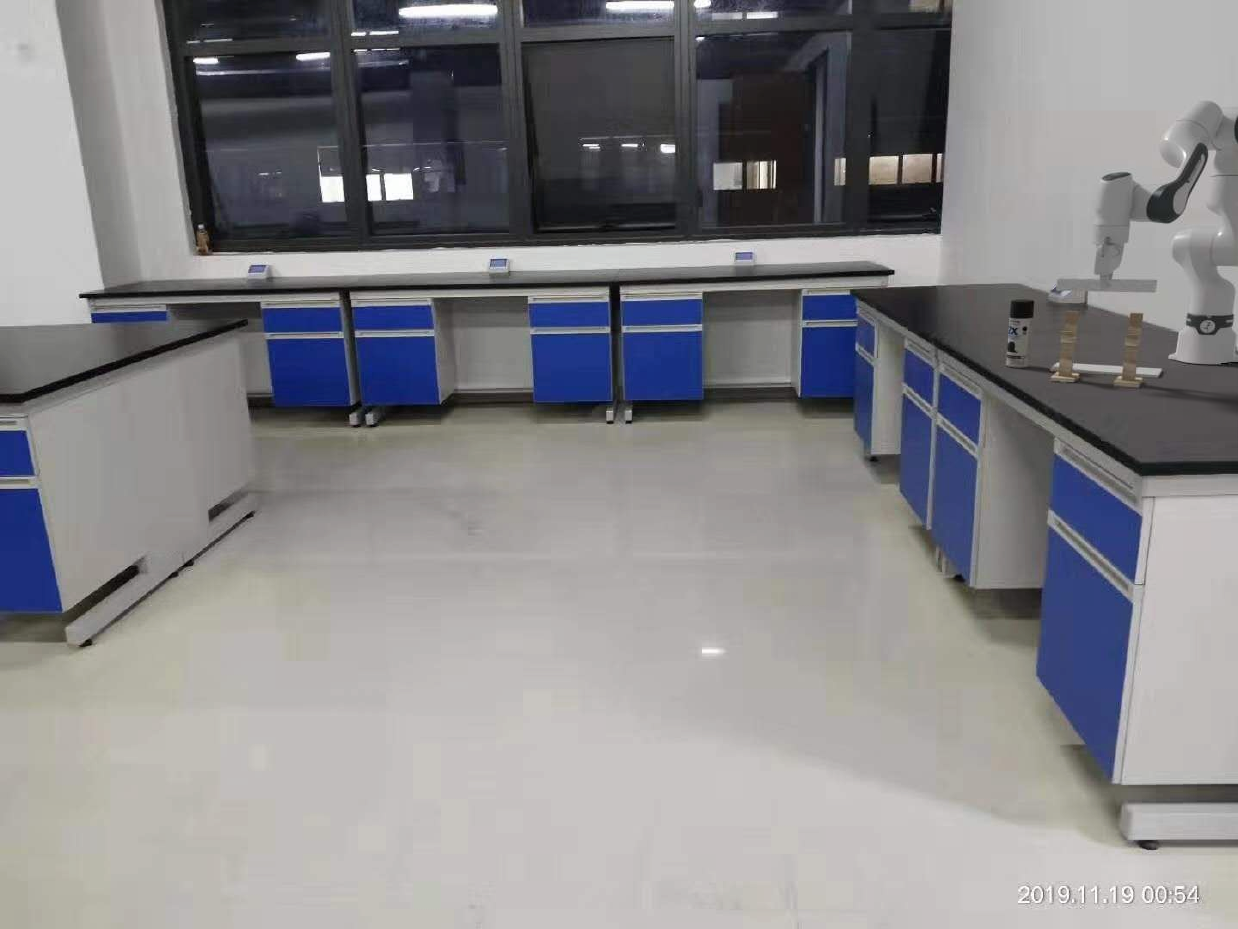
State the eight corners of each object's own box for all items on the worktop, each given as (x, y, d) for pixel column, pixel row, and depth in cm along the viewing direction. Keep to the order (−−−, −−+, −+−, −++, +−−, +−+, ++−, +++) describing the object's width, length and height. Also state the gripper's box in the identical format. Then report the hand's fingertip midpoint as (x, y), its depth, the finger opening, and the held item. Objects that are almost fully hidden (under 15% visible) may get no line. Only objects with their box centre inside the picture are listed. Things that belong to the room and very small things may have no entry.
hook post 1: (1056, 376, 273) (1062, 309, 268) (1078, 377, 270) (1085, 310, 265) (1050, 381, 267) (1056, 313, 262) (1073, 382, 264) (1079, 314, 258)
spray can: (1000, 365, 291) (1005, 300, 285) (1018, 363, 293) (1023, 298, 288) (1016, 369, 285) (1021, 302, 279) (1034, 366, 287) (1039, 300, 282)
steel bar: (1058, 289, 265) (1059, 278, 264) (1155, 291, 252) (1157, 279, 251) (1056, 290, 263) (1057, 279, 262) (1154, 292, 249) (1155, 280, 248)
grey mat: (1057, 364, 288) (1057, 362, 288) (1161, 371, 273) (1162, 368, 273) (1050, 370, 281) (1050, 368, 280) (1157, 377, 265) (1158, 375, 265)
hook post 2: (1118, 380, 265) (1125, 312, 259) (1142, 381, 261) (1150, 312, 256) (1113, 385, 258) (1120, 316, 253) (1138, 387, 255) (1146, 316, 250)
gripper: (1117, 239, 243) (1112, 293, 247) (1128, 233, 259) (1123, 284, 263) (1090, 239, 247) (1085, 292, 251) (1103, 233, 263) (1098, 284, 267)
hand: (1105, 288), depth 257 cm, fingers closed on steel bar, 3 cm apart
